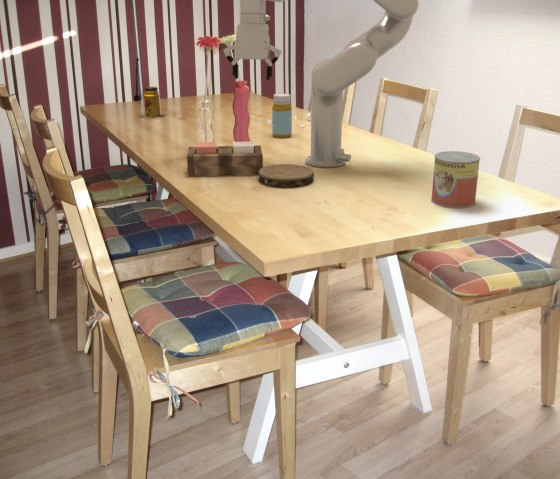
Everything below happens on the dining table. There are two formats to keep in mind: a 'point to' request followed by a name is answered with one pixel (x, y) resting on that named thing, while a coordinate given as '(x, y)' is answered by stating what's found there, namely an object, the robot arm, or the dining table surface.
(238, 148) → the white block
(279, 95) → the bottle
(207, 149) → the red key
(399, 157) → the dining table surface
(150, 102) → the condiment
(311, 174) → the brown flat disc
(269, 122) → the game piece set
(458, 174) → the canned food
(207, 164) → the frame
